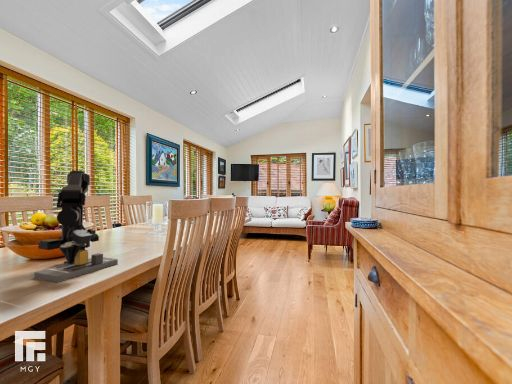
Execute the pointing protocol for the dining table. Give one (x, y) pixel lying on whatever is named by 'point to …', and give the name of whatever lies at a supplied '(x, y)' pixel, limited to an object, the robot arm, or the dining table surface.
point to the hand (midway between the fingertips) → (70, 263)
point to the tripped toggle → (81, 257)
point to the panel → (75, 269)
